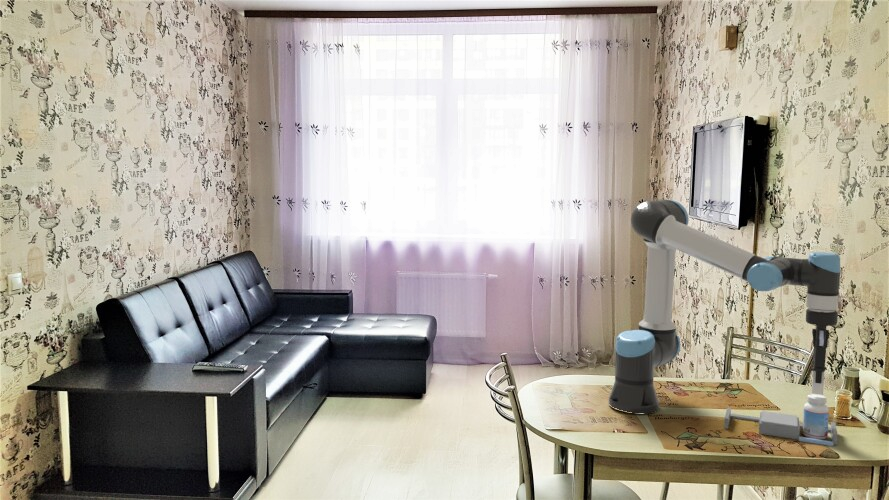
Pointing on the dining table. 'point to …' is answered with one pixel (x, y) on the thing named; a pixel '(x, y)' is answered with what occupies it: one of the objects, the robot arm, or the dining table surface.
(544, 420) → the dining table surface
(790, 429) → the grey block with rods
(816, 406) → the pill bottle
